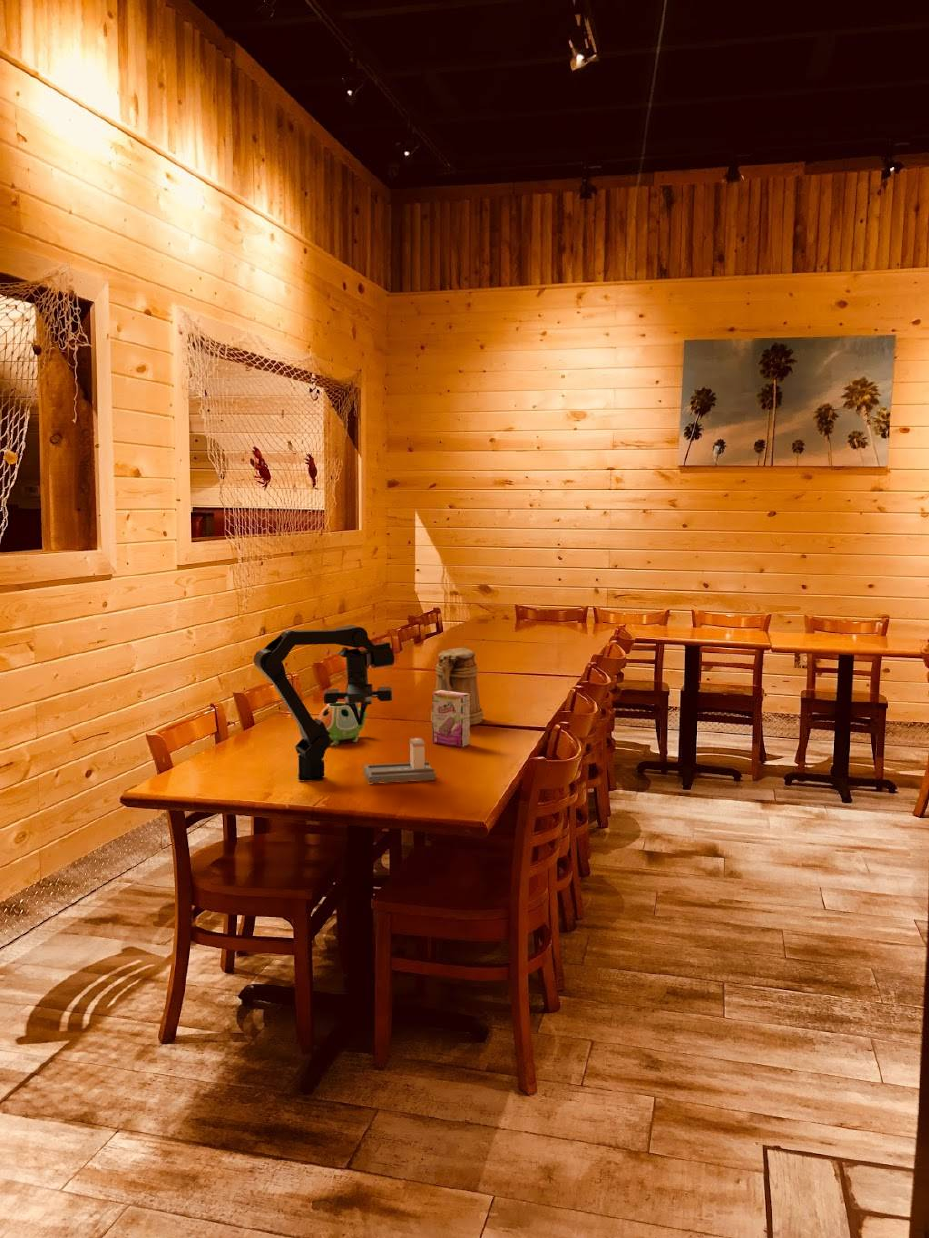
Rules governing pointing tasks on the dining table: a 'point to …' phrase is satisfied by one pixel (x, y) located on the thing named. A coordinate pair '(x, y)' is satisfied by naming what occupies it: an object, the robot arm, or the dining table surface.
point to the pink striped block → (417, 753)
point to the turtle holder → (341, 722)
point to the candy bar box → (451, 718)
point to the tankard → (460, 678)
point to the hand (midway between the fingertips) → (360, 724)
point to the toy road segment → (397, 772)
